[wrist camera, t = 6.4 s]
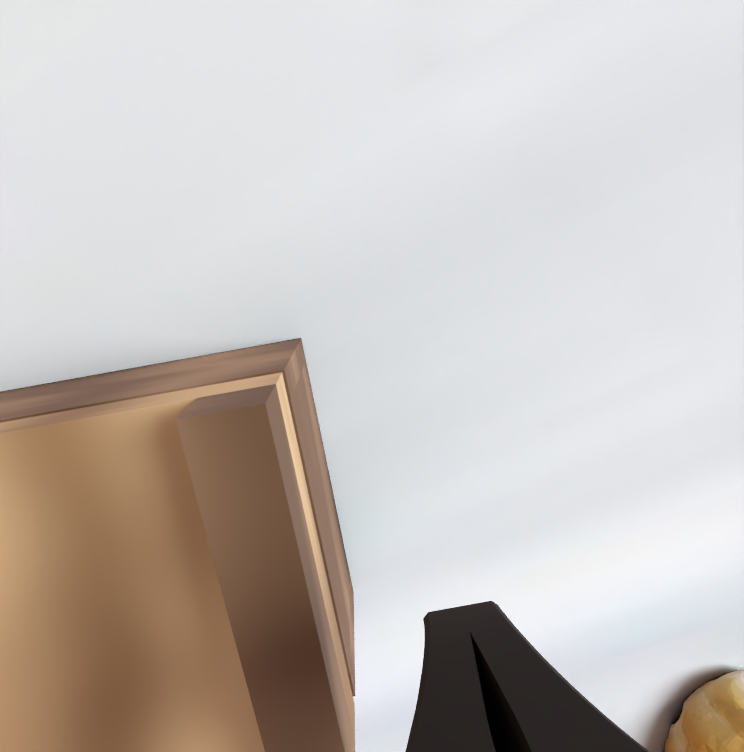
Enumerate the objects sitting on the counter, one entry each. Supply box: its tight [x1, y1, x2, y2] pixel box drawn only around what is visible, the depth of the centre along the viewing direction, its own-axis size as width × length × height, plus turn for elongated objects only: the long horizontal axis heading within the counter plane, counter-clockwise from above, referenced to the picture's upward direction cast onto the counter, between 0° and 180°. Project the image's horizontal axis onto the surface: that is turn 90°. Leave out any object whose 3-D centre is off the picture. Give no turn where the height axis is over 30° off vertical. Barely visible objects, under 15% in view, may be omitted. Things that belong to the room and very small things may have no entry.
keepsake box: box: [0, 338, 355, 696], centre depth 17 cm, size 12×10×5 cm
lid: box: [0, 372, 355, 752], centre depth 13 cm, size 12×10×3 cm
